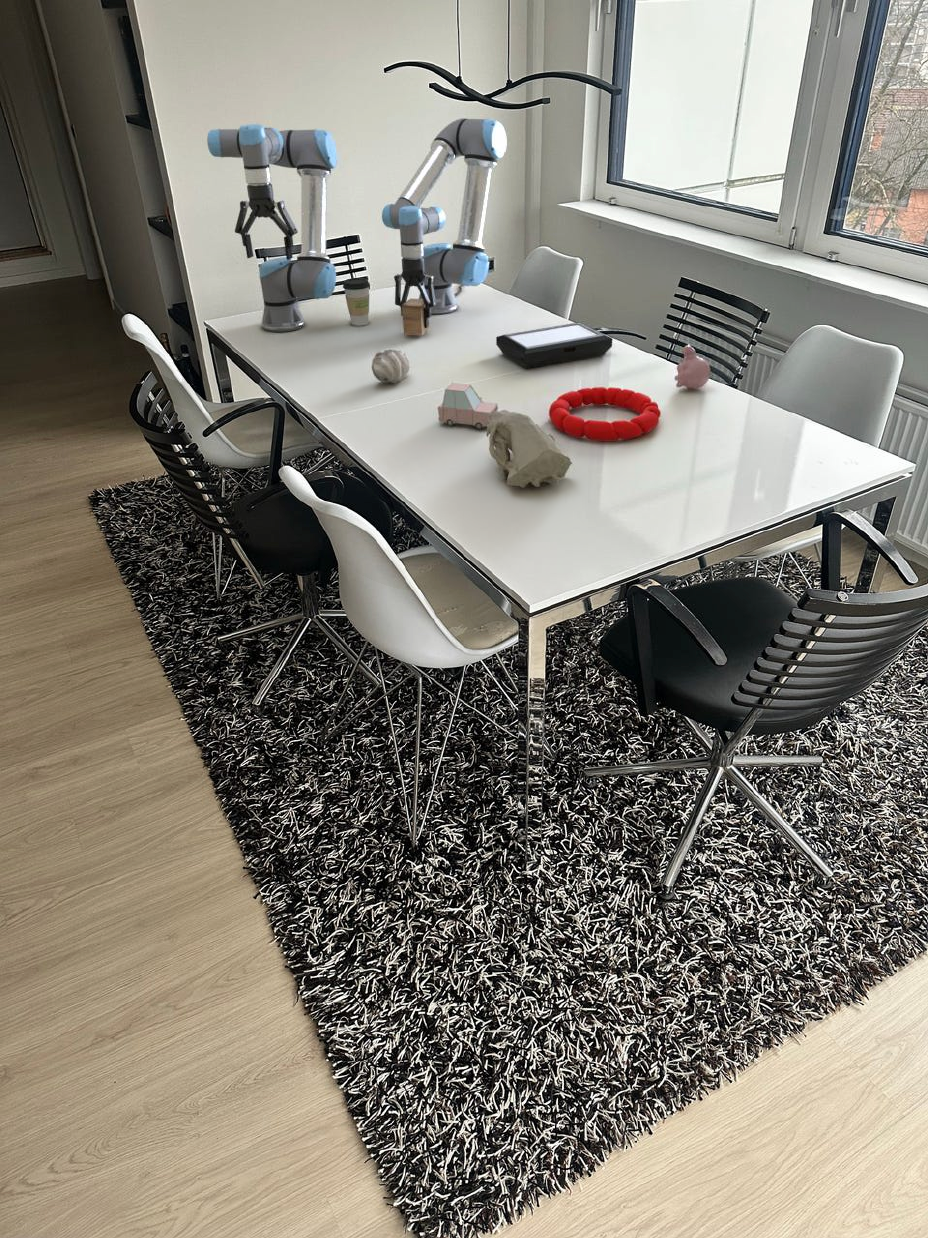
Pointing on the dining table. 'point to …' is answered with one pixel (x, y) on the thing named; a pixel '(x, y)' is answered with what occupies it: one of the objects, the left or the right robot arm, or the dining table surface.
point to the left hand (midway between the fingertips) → (269, 257)
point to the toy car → (465, 406)
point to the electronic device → (553, 344)
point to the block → (414, 317)
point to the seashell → (390, 366)
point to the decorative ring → (604, 428)
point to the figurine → (692, 370)
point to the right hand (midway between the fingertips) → (416, 326)
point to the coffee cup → (357, 300)
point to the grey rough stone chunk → (525, 450)
